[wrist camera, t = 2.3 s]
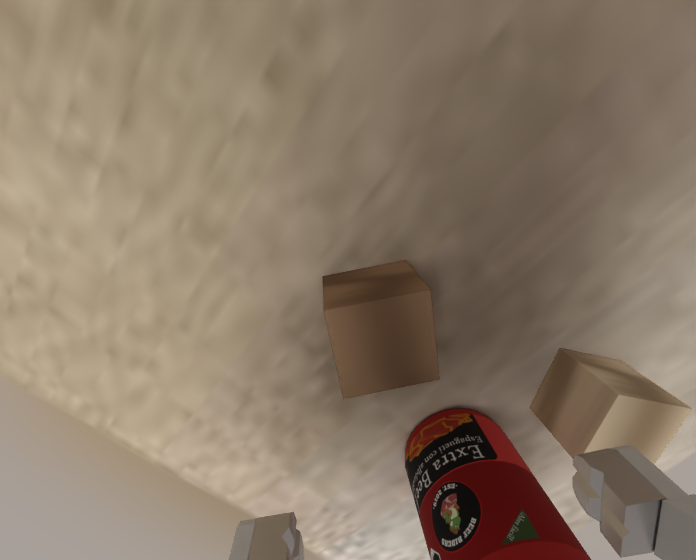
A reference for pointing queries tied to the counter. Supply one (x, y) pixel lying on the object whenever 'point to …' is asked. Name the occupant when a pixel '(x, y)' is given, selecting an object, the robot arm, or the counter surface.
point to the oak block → (605, 406)
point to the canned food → (481, 494)
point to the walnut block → (380, 328)
